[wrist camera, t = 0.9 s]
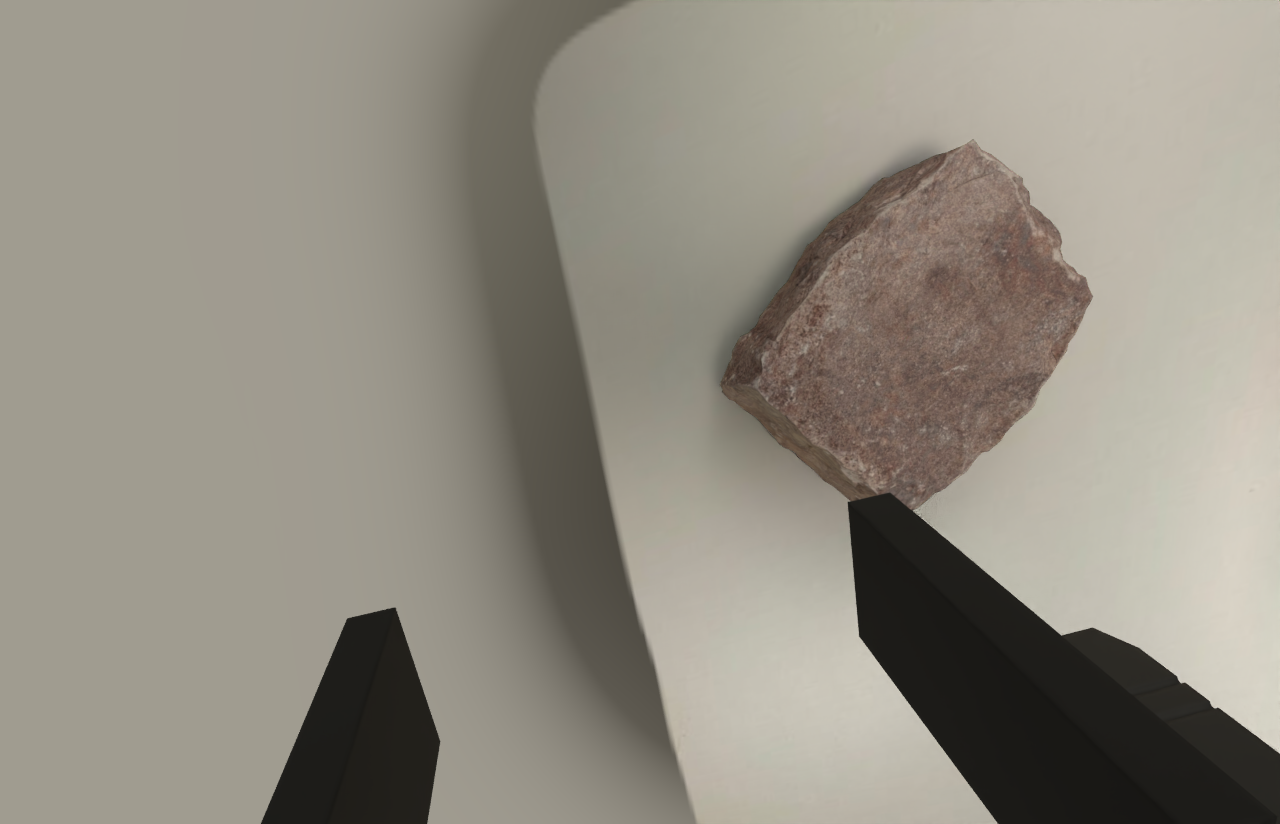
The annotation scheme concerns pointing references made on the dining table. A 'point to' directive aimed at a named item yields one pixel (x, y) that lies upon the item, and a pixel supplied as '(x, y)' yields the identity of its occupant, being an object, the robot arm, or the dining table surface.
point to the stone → (913, 330)
